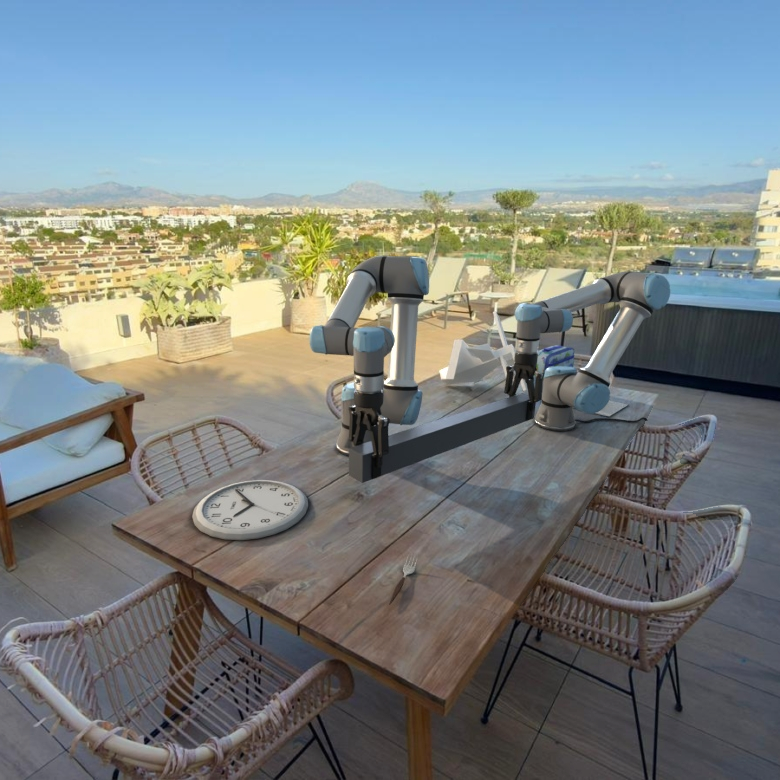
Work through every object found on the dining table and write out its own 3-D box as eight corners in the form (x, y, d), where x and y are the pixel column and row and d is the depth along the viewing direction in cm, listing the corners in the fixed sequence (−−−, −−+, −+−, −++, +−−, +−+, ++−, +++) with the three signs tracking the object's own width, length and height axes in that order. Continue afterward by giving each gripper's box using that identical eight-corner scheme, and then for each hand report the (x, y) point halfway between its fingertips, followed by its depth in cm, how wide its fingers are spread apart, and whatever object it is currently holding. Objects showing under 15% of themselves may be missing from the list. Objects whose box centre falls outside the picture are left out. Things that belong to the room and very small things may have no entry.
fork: (383, 605, 105) (383, 597, 105) (407, 560, 120) (408, 552, 119) (395, 608, 104) (395, 600, 104) (418, 562, 119) (419, 555, 118)
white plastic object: (461, 429, 252) (437, 405, 227) (444, 352, 274) (420, 323, 250) (535, 404, 240) (518, 377, 215) (510, 326, 262) (492, 293, 237)
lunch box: (546, 398, 236) (551, 353, 229) (525, 393, 243) (529, 349, 237) (573, 387, 253) (579, 344, 247) (553, 382, 260) (558, 341, 254)
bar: (520, 413, 186) (522, 393, 183) (534, 418, 181) (536, 397, 179) (348, 475, 138) (348, 448, 136) (362, 483, 134) (362, 455, 132)
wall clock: (304, 532, 127) (176, 536, 124) (304, 538, 127) (177, 542, 125) (311, 475, 155) (207, 478, 153) (311, 480, 156) (208, 483, 153)
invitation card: (608, 416, 214) (573, 407, 224) (608, 416, 214) (573, 408, 224) (628, 404, 229) (594, 396, 238) (628, 405, 229) (594, 397, 238)
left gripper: (334, 383, 136) (335, 464, 143) (382, 402, 122) (381, 490, 129) (356, 378, 140) (356, 456, 148) (405, 395, 127) (403, 481, 134)
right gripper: (496, 348, 178) (491, 412, 185) (545, 359, 165) (538, 427, 172) (509, 345, 183) (504, 407, 190) (558, 355, 170) (550, 421, 177)
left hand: (368, 472), depth 138 cm, fingers closed on bar, 6 cm apart
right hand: (520, 416), depth 181 cm, fingers closed on bar, 6 cm apart
